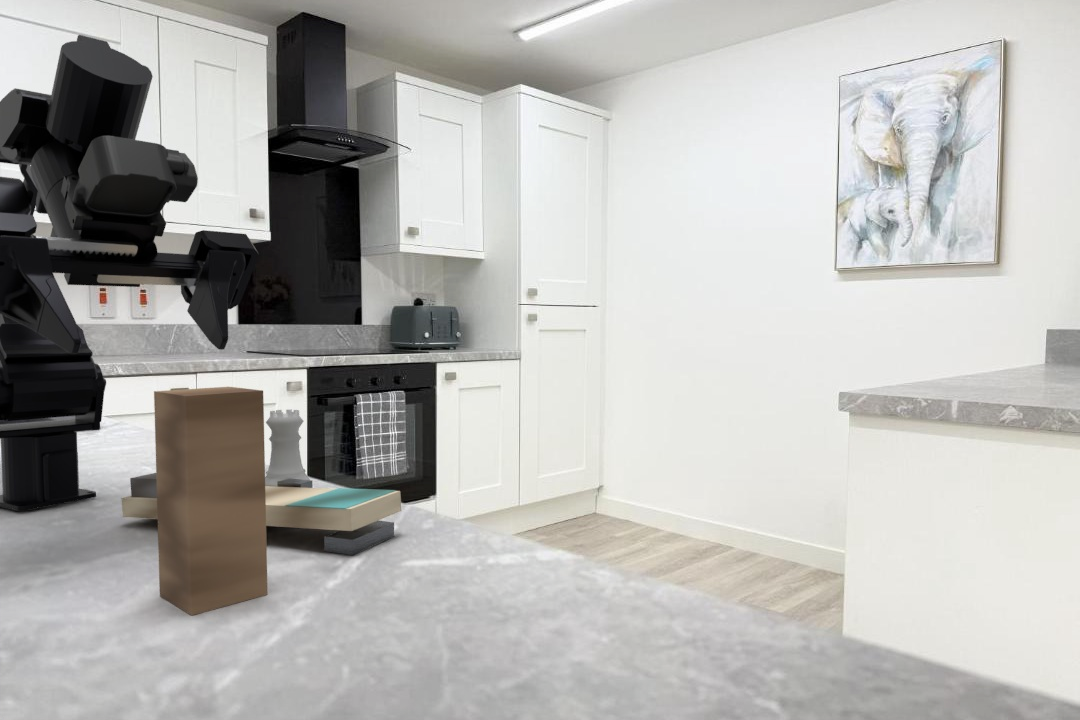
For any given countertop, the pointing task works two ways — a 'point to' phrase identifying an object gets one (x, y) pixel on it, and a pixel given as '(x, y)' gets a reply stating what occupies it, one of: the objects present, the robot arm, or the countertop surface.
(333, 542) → the seesaw stand
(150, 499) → the seesaw beam
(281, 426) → the rook chess piece
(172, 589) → the column
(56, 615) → the countertop surface
